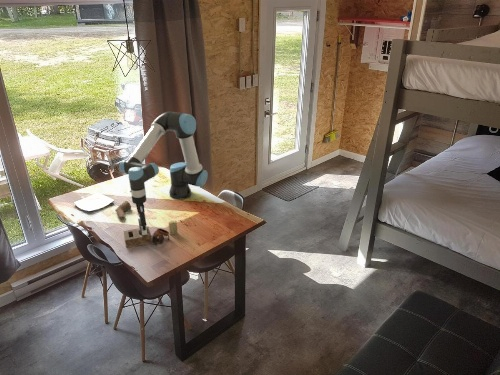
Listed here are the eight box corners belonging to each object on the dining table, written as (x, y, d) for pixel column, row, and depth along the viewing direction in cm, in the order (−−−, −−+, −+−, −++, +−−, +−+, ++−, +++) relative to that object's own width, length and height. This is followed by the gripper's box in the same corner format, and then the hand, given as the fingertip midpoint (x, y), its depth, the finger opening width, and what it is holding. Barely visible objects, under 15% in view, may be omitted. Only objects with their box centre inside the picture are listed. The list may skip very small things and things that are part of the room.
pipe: (116, 215, 236) (133, 210, 240) (112, 203, 250) (128, 198, 253) (120, 224, 240) (135, 218, 243) (115, 211, 253) (130, 206, 256)
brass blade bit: (177, 232, 229) (176, 220, 226) (177, 233, 228) (176, 222, 224) (169, 233, 228) (168, 221, 224) (170, 235, 226) (169, 223, 223)
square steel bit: (146, 235, 224) (144, 214, 217) (147, 238, 221) (145, 217, 214) (140, 236, 222) (137, 215, 216) (141, 240, 219) (138, 219, 213)
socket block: (149, 233, 227) (148, 226, 225) (152, 242, 219) (151, 235, 217) (124, 238, 222) (123, 231, 220) (126, 247, 214) (125, 240, 212)
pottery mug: (149, 239, 223) (154, 226, 222) (165, 243, 226) (170, 230, 226) (151, 246, 212) (157, 232, 211) (168, 250, 215) (173, 236, 215)
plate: (89, 215, 246) (88, 212, 244) (72, 206, 256) (71, 202, 255) (116, 203, 260) (116, 200, 259) (99, 195, 271) (98, 191, 270)
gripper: (128, 186, 218) (133, 218, 228) (134, 206, 198) (139, 241, 207) (142, 184, 221) (146, 216, 230) (149, 204, 200) (153, 238, 210)
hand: (143, 228), depth 219 cm, fingers open, 13 cm apart
